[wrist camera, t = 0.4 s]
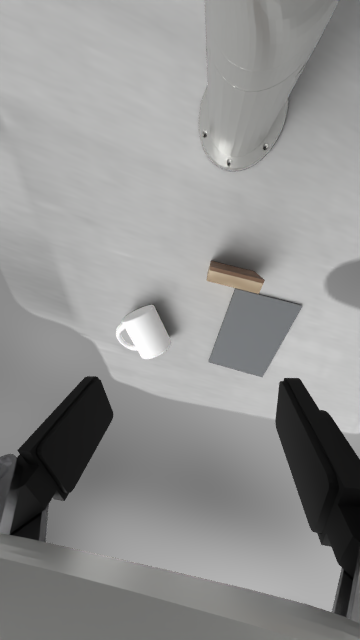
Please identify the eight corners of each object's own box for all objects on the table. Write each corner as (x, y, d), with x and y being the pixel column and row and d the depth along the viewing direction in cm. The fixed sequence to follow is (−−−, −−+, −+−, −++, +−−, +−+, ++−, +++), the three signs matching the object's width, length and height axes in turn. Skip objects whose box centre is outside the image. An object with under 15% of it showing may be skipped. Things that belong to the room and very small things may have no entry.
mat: (235, 288, 38) (235, 288, 38) (301, 305, 38) (302, 306, 37) (208, 360, 47) (208, 362, 47) (261, 375, 46) (262, 377, 46)
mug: (157, 301, 43) (146, 314, 35) (174, 336, 46) (167, 354, 39) (117, 316, 46) (99, 330, 39) (135, 347, 50) (122, 366, 42)
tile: (211, 260, 37) (210, 266, 30) (254, 271, 36) (264, 280, 29) (207, 272, 38) (206, 280, 31) (249, 282, 37) (258, 293, 30)
